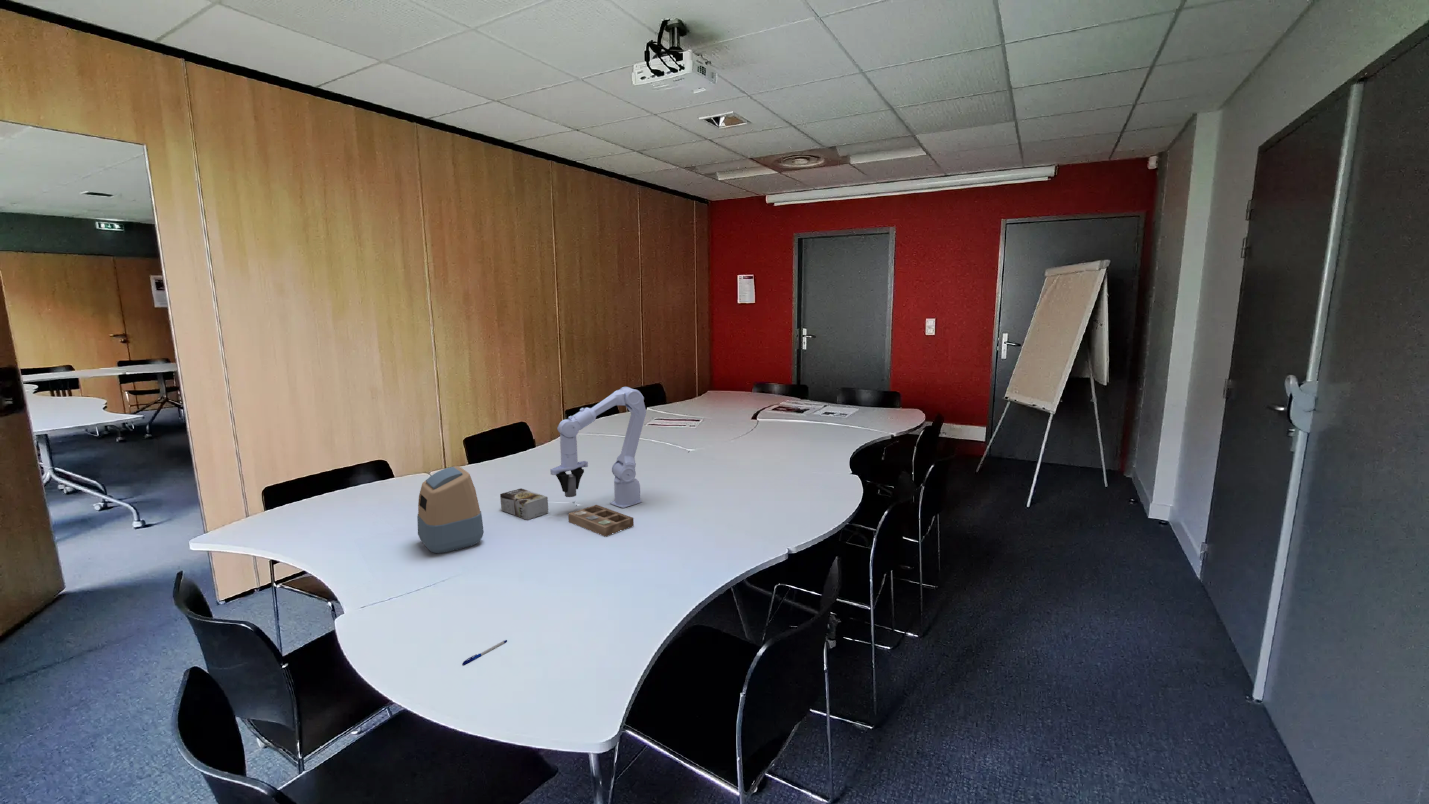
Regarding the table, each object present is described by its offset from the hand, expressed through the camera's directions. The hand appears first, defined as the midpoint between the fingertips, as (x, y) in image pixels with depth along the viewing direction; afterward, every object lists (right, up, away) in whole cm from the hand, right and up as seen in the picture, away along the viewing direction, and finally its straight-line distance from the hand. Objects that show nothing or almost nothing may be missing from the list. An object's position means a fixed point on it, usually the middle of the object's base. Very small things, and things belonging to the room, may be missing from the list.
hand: (570, 490), depth 205 cm
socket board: (+13, -10, -10) cm, 19 cm away
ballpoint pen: (+3, -22, -83) cm, 86 cm away
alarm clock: (-31, -13, -26) cm, 42 cm away
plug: (0, -2, 0) cm, 2 cm away
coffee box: (-10, -6, -4) cm, 13 cm away
